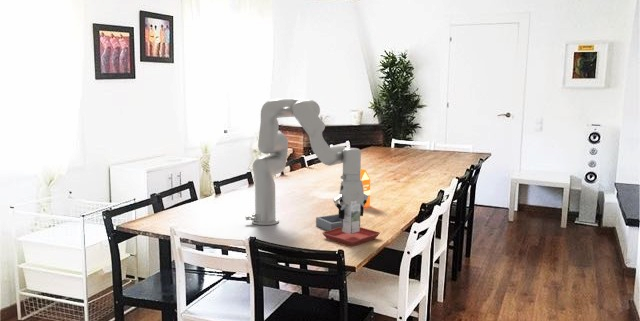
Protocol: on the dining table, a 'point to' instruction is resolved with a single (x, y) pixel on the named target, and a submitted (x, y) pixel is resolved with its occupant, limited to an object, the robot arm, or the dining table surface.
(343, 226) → the syrup box
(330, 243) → the dining table surface
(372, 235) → the plant saucer
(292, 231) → the dining table surface
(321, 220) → the bin
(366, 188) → the orange juice
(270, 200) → the robot arm
